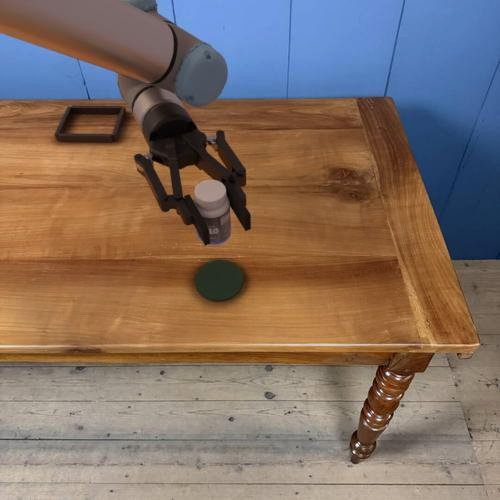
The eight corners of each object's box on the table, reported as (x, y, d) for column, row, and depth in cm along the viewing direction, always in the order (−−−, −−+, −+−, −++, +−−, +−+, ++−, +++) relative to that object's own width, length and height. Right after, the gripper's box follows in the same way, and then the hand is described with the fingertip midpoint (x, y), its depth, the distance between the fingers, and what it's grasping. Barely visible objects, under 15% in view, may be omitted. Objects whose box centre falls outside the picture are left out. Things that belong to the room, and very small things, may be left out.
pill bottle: (190, 240, 63) (183, 196, 56) (208, 217, 65) (202, 172, 59) (221, 252, 61) (217, 208, 55) (237, 228, 64) (235, 183, 57)
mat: (185, 283, 72) (184, 281, 71) (217, 254, 75) (217, 252, 75) (221, 310, 69) (220, 308, 68) (253, 278, 72) (253, 276, 72)
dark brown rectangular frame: (56, 141, 94) (53, 135, 93) (70, 111, 101) (68, 105, 100) (117, 142, 94) (115, 136, 93) (127, 112, 101) (125, 105, 99)
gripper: (221, 129, 74) (290, 226, 61) (113, 161, 69) (162, 274, 56) (218, 87, 68) (294, 185, 55) (100, 118, 63) (151, 234, 50)
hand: (227, 229), depth 55 cm, fingers closed on pill bottle, 5 cm apart
